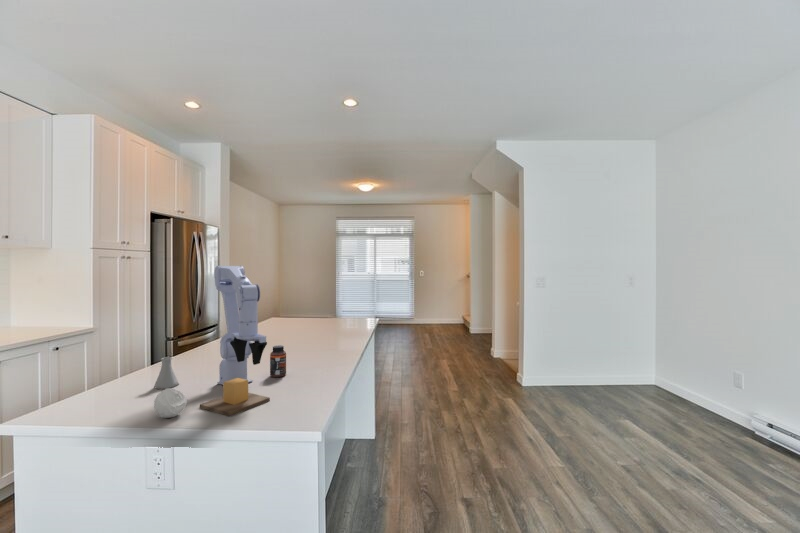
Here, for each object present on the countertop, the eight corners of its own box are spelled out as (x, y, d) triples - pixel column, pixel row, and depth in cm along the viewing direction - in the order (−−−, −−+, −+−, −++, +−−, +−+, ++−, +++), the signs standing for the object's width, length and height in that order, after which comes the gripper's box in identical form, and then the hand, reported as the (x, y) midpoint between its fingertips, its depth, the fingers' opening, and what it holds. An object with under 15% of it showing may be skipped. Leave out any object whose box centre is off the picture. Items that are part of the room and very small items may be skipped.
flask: (149, 388, 130) (149, 359, 130) (169, 382, 136) (169, 355, 136) (163, 390, 127) (163, 361, 127) (183, 384, 134) (183, 356, 134)
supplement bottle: (281, 378, 141) (281, 348, 141) (266, 377, 142) (266, 347, 142) (289, 373, 146) (288, 345, 146) (275, 373, 148) (275, 344, 148)
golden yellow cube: (223, 401, 113) (223, 382, 113) (237, 396, 117) (237, 377, 117) (234, 404, 110) (234, 384, 111) (248, 399, 115) (248, 380, 115)
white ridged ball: (168, 423, 100) (168, 394, 100) (146, 420, 102) (146, 392, 102) (192, 412, 107) (192, 385, 107) (171, 410, 109) (171, 383, 109)
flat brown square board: (199, 407, 111) (199, 392, 111) (240, 393, 123) (239, 380, 123) (230, 416, 104) (230, 400, 104) (269, 400, 116) (269, 386, 116)
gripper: (223, 321, 123) (223, 362, 123) (253, 324, 116) (253, 368, 116) (241, 319, 129) (241, 358, 129) (271, 321, 122) (271, 363, 122)
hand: (248, 362), depth 123 cm, fingers open, 7 cm apart
